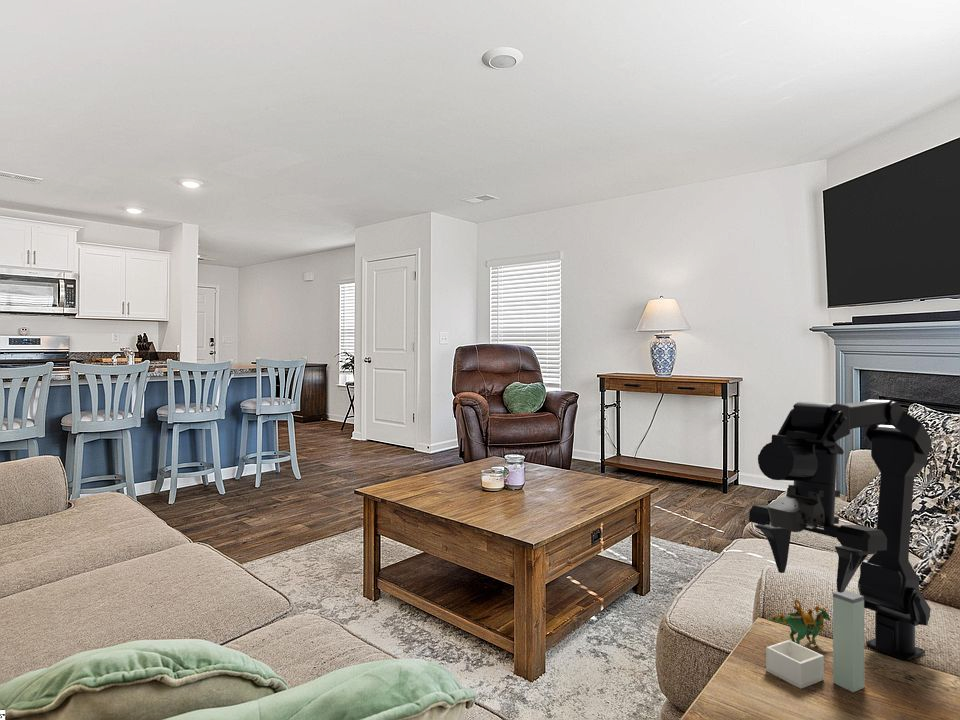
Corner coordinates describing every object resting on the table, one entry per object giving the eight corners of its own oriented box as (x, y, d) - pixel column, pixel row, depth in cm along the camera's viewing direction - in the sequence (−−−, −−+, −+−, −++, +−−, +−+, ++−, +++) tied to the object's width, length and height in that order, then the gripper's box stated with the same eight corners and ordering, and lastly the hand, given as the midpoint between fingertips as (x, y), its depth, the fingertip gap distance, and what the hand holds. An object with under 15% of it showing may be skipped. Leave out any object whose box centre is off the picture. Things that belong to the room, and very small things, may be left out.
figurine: (836, 648, 98) (836, 601, 99) (773, 650, 97) (773, 603, 97) (824, 640, 101) (823, 594, 102) (762, 642, 100) (762, 596, 100)
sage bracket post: (844, 678, 89) (843, 589, 89) (864, 687, 86) (864, 596, 86) (833, 682, 87) (832, 592, 88) (853, 692, 85) (852, 599, 85)
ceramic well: (788, 662, 93) (788, 639, 93) (823, 679, 88) (823, 655, 88) (766, 670, 90) (766, 647, 91) (800, 688, 85) (800, 663, 85)
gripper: (729, 471, 92) (723, 566, 91) (848, 492, 76) (843, 608, 75) (771, 472, 98) (766, 563, 96) (890, 492, 81) (886, 601, 80)
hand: (809, 581), depth 87 cm, fingers open, 9 cm apart
